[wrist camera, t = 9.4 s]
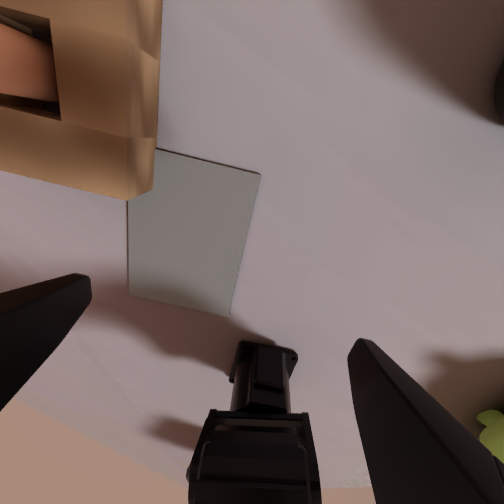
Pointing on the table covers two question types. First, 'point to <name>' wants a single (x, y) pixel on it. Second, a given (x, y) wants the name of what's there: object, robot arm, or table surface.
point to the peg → (26, 66)
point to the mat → (190, 233)
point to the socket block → (88, 96)
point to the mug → (500, 92)
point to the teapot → (493, 432)
